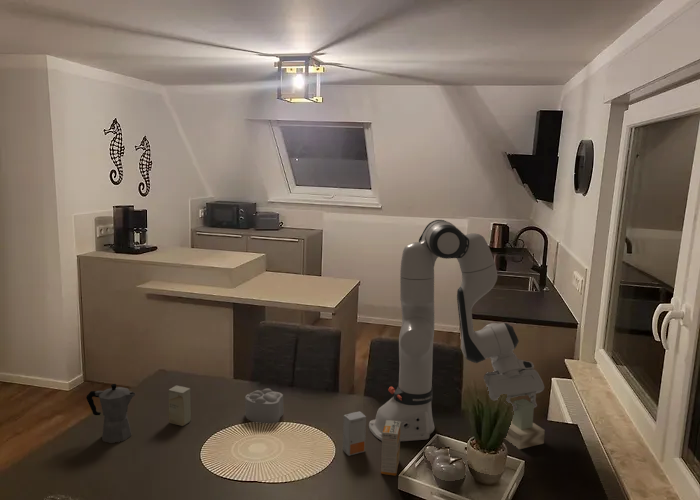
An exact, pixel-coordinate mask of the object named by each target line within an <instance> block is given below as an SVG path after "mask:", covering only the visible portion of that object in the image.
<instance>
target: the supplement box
mask: <svg viewBox="0 0 700 500" xmlns="http://www.w3.org/2000/svg"><path fill="white" fill-rule="evenodd" d="M400 432H401V422H400V421H391V420H386V422H385V425H384V428H383V432H382V441H381V458H380V459H381V460H380V461H381V463H380V465H381V466H380V473H381V474H382V475H387V476H388V475H389V476H397V473H398V467H399V464H400V453H401V452H400V451H401V449H400V448H401V441H400Z"/></svg>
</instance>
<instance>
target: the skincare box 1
mask: <svg viewBox="0 0 700 500" xmlns="http://www.w3.org/2000/svg"><path fill="white" fill-rule="evenodd" d="M191 400H192V399H191V387H185V386H181V385H177V384H176V385H174V386H173V387H171V388H169V389H168V423H170V424H172V425H178V426H181V427H184V426H185V425H187V424H189V423H191V416H192V415H191V409H192V408H191V407H192V406H191Z"/></svg>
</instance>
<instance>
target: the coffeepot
mask: <svg viewBox="0 0 700 500" xmlns="http://www.w3.org/2000/svg"><path fill="white" fill-rule="evenodd" d="M110 387H111V388H106V389H104V390H91V391H90V392H89V393H88V394H86V401H87V402H88V405H89V407H90V410H91V412H92V414H93V415H94V416H101V414H102V415H103V418H104V419H103V427H102V435H101V436H102V438H101V439H102V441H103V442H104V441H105V443H106V442H109V443H108V444H115V442H118V443H121V442H124V441H126V440H128V439H129V438H130V437H131V436H132V430H131V426H130V425H131V424H130V422H129V417H128V410H129V409H128V408H129V405H130V403H131V401H132V398H133V397H134V396H136V393H135V392H134V391H130V389H129V388H127V387H121V386H117V384H116V383H112V384H110ZM93 397H95V398H98V399H99V403H100V406H101V410H102V413H101V412H99V411H97V407H96V405H95V402H94V399H93ZM127 438H128V439H127ZM120 441H121V442H120Z"/></svg>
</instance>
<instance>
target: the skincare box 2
mask: <svg viewBox="0 0 700 500" xmlns="http://www.w3.org/2000/svg"><path fill="white" fill-rule="evenodd" d="M342 425H343V426H342V428H343V429H342V432H343V433H342V450H343V452H344V453H345V454H346V455H347V456H348V457H350V456H354V455H358V454H361V453H365V452H366V430H367V415H365V414H364V413H363V412H362V411H360V410H359V411H354V412H349V413H347V414H344V415H343V424H342Z"/></svg>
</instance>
